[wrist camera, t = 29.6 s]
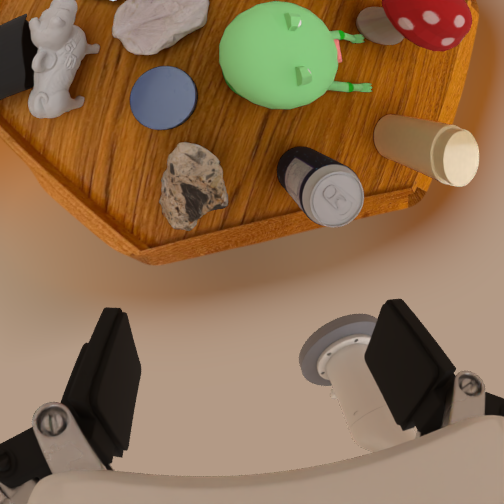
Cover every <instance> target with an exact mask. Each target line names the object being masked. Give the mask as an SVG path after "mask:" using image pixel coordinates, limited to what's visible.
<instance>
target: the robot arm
mask: <svg viewBox="0 0 504 504" xmlns="http://www.w3.org/2000/svg"><path fill="white" fill-rule="evenodd" d="M316 366H317V371H318V373H319V375H320V376H321V377H322V378H324V379H326V380H330V382H331V384H332V388H333V389H332V390H331V393H330V397H331V398H332V399H337V400H338V402H339V405H340V407H341V410H342V413H343V415H344V418H345V421H346V423H347V425H348V429H349V431H350V434H351V436H352V439H353V440H354V442H355V443H356V444H357V445H358V446H360V447H361V448H363V449H366V450H368V451H371V452H373V453H370V454H366V455H362V456H359V457H355V458H351V459H347V460H343V461H339V462H334V463H329V464H324V465H319V466H314V467H309V468H302V469H296V470H289V471H283V472H274V473H265V474H254V475H239V476H212V477H211V476H205V477H204V476H203V477H202V476H169V475H153V474H141V473H131V472H119V471H115V470H114V469H113V468H112V466H111V465H110V463H112V459H113V456H116V457H122V455H123V450H127V449H128V446H129V439H130V432H131V426H132V420H133V414H134V408H135V402H136V397H137V392H138V386H139V381H140V376H141V364H140V361H139V358H138V355H137V351H136V347H135V343H134V340H133V336H132V332H131V328H130V324H129V320H128V316H127V314H126V313H125V312H122V310H121V309H120V308H104V310H103V312H102V314H101V316H100V318H99V321H98V323H97V325H96V327H95V330H94V332H93V334H92V336H91V339H90V341H89V343H85V344H84V345H83V347H82V349H81V351H80V354H79V356H78V358H77V361H76V363H75V366H74V368H73V371H72V373H71V376H70V378H69V381H68V384H67V386H66V389H65V392H64V395H63V397H62V400H61V403H58V402H49V403H46V404H43V405H42V406H40V407H39V408H38V409H37V410H36V411H35V413H34V415H33V419H32V426H33V427H32V428H30V429H28V430H26V431H24V432H22V433H20V434H18V435H16V436H15V437H13V438H11V439H9V440H7V441H5V442H3V443H1V444H0V504H504V399H503V398H501V397H498V396H495V395H492V394H490V393H487V392H485V385H484V383H483V381H482V379H481V378H480V377H479V376H478V375H476V374H475V373H473V372H471V371H461V372H459V373H458V374H457V375H456V376H455V375H454V372H455V370H456V368H455V366H454V365H453V364H452V363H451V361H450V359H449V358H448V357H447V356H446V354H445V353H444V351H443V350H442V349H441V347H440V346H439V345H438V343H437V342H436V341H435V340H434V338H433V337H432V336H431V334H430V333H429V332H428V331H427V329H426V328H425V327H424V325H423V324H422V323H421V322H420V320H419V319H418V318H417V317H416V315H415V314H414V313H413V312H412V311H411V309H410V308H409V307H408V306H407V304H406V303H405V302H404V301H403V300H402V299H393V300H387V301H386V303H385V304H384V305H383V306H382V308H381V311H380V314H379V317H378V319H377V322H376V325H375V328H374V331H373V333H372V336H369V335H366V334H354V335H349V336H346V337H344V338H341V339H339V340H337V341H335V342H334V343H332V344H331V345H330V346H328V347H327V348H326V349H325V350H324V351H323V352H322V354H321V355H320V357H319V358H318V361H317V365H316ZM414 426H416V428H417V433H416V432H415V430H414V429H413V428H414Z"/></svg>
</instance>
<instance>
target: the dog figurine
mask: <svg viewBox="0 0 504 504" xmlns="http://www.w3.org/2000/svg"><path fill="white" fill-rule="evenodd" d="M76 12H77V3H76V1H75V0H53V1H52V3H51V5H50V8H49V9H47V10H45V11H44V12H42V15H41V17H40V18H39V20H38V18H37V17H35V18H32V19H31V20H30V22H29V28H30V30H31V40H32V42H33V44H34V45H35V46H36V47H37V48H38V51H37V54H36V55H35V57H34V59H33V61H32V69H33V70H34V88H33V90H32V91H31V93H30V96H29V100H28V107H29V110H30V112H31V114H32V115H33V116H35V117H37V118H55V117H58V116H60V115H62V114H63V113H64V112H69V111H70V110H72V109H76V108H80V107H81V106H83V104H84V97H82V96H77V97H76V98H75V99H72V98H71V97H70V93H69V91H68V90H69V87H70V85H71V83H72V81H73V79H74V76H75V74H76V71H77V69H78V68H79V66H80V63H81V60H82V59H83V58H84V56H85V55H86V54H96V53H98V52H99V49H100V46H99V45H98V44H93V45H90V44H87V40H86V36H85V33H84V32H83V30H82V29H80V28H79V27H78V26H76V25H73V24H74V21H75V16H76Z"/></svg>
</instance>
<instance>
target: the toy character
mask: <svg viewBox="0 0 504 504" xmlns="http://www.w3.org/2000/svg"><path fill="white" fill-rule="evenodd" d="M362 36H363V35H362V34H356V35H350V34H347V33H344V32H343V31H341V30H336V31H329V30H328V28H327V27H326V26H325V24H324V23H323V21H322V20H320V19H319V18H318V17H317V16H316V15H314V14H313V13H312V12H311V11H309V10H308V9H305V8H303V7H301V6H298V5H296V4H294V3H288V2H280V1H273V2H267V3H262V4H258V5H256V6H254V7H252V8H250V9H248V10H246V11H244V12H243V13H241V14H239V15H238V16H237V17H236V18H235V19H234V20H233V21H232V22H231V23H230V24H229V25H228V26H227V28H226V29H225V31H224V34H223V36H222V39H221V41H220V44H219V63H220V65H221V68H222V73H223V76H224V79H225V81H226V83H227V85H228V86H229V87H230V88H231V90H232V91H233V92H235V93H236V94H238V95H240V96H241V97H243V98H246V99H247V100H249V101H250V102H252V103H254V104H257V105H260V106H264V107H267V108H270V109H293V108H296V107H300V106H304V105H307V104H310V103H311V102H313V101H314V100H316V99H317V98H319V97H320V96H322V95H323V94H324V93H325V92H326V91H327V90H332V91H341V92H352V91H360V92H371V91H372V90H370V89H372V88H373V87H371V86H370V85H372V84H370V83H362V84H352V83H350V82H347V83H346V82H338V81H334V78H335V75H336V72H337V69H338V62H339V63H340V62H342V57H341V52H340V46H339V40H342V39H344V40H348V41H351V42H352V43H363V42H365V41H362V40H363V39H364V37H362Z"/></svg>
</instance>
